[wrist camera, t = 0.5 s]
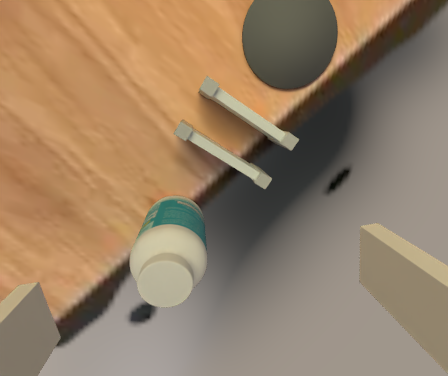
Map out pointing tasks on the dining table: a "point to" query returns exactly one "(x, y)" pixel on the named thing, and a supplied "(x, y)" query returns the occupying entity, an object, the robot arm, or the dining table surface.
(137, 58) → the dining table surface
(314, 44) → the coaster
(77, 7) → the dining table surface
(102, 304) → the dining table surface
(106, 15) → the dining table surface
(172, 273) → the pill bottle
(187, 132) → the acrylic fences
